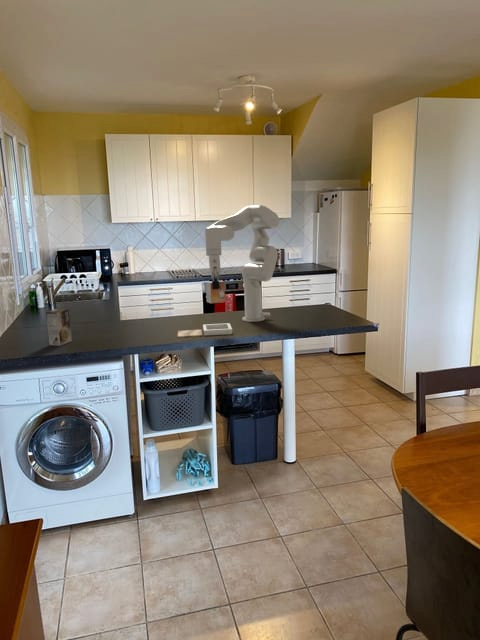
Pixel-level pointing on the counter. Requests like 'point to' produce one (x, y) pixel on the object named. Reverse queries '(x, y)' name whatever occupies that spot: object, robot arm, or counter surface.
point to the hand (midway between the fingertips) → (215, 287)
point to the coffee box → (59, 327)
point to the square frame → (217, 329)
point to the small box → (215, 292)
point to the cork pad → (189, 333)
